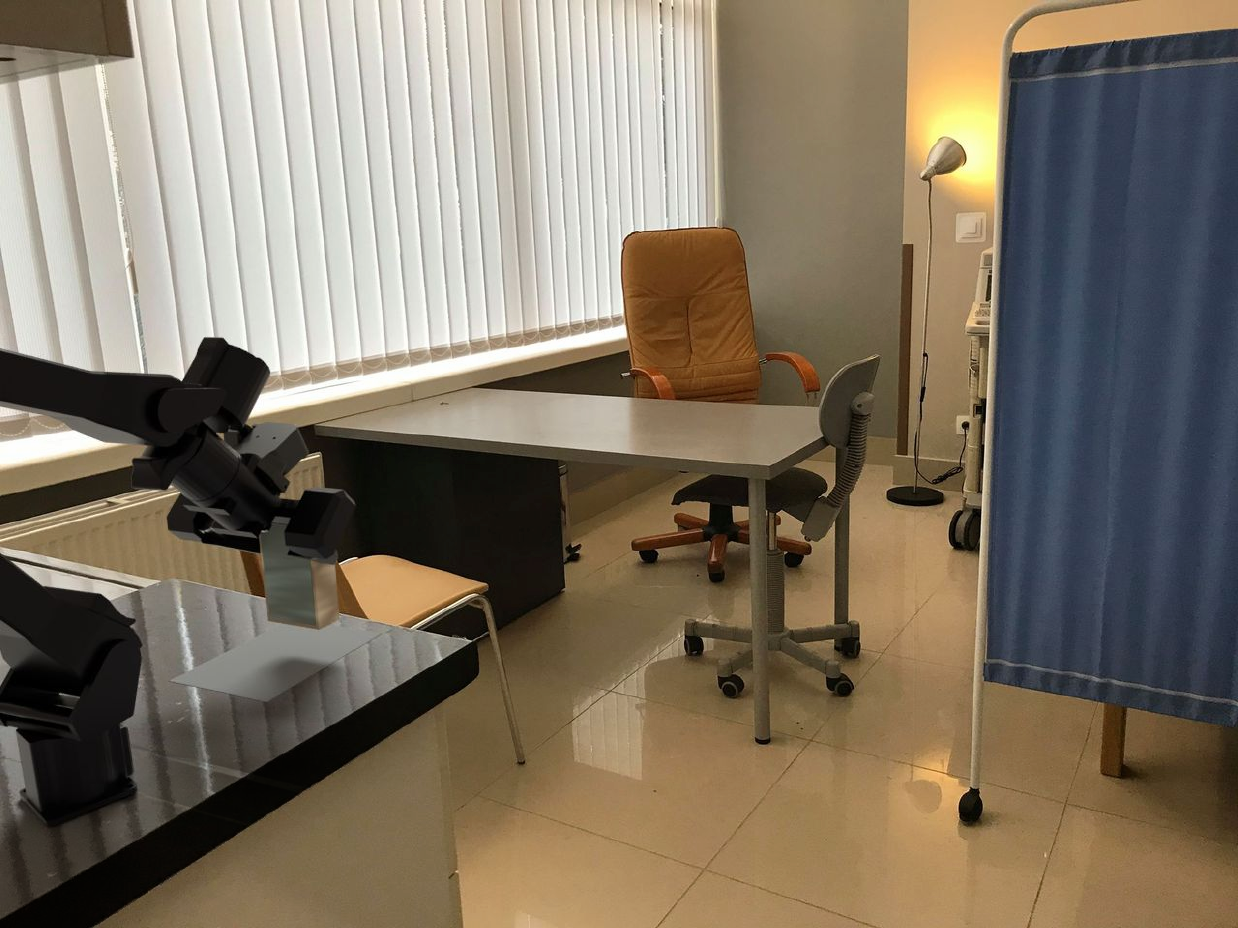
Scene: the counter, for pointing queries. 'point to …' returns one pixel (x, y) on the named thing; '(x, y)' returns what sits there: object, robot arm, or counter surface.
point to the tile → (296, 585)
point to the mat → (275, 660)
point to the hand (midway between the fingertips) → (307, 556)
